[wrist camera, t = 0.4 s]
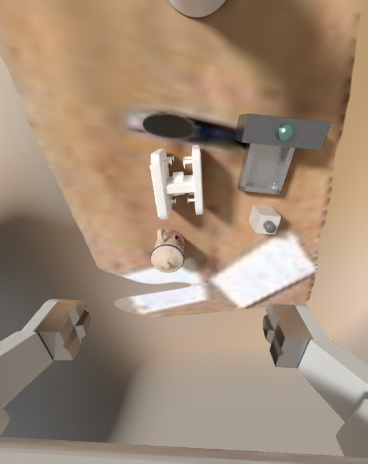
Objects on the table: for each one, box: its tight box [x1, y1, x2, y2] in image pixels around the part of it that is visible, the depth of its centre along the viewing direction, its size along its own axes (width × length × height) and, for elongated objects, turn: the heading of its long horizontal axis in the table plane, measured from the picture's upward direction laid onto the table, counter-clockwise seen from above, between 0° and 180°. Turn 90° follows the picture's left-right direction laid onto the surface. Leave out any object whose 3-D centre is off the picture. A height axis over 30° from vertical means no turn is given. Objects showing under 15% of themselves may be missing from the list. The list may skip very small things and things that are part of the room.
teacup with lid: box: [151, 229, 185, 273], centre depth 56 cm, size 12×9×12 cm
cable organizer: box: [150, 145, 203, 220], centre depth 47 cm, size 15×11×12 cm
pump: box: [249, 205, 281, 235], centre depth 52 cm, size 5×5×9 cm
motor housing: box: [235, 114, 332, 195], centre depth 44 cm, size 16×16×9 cm
